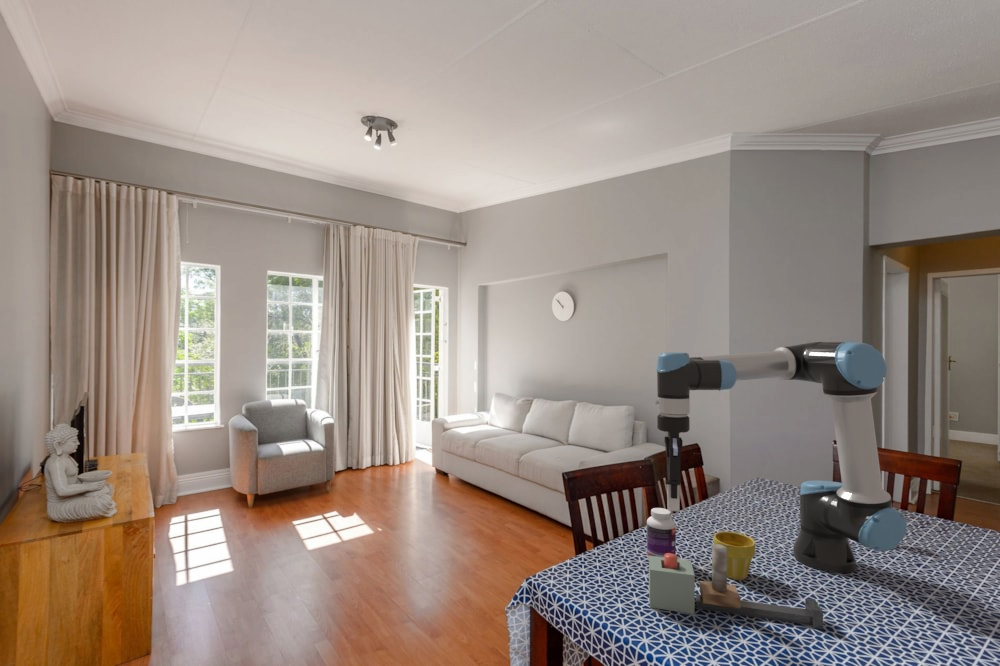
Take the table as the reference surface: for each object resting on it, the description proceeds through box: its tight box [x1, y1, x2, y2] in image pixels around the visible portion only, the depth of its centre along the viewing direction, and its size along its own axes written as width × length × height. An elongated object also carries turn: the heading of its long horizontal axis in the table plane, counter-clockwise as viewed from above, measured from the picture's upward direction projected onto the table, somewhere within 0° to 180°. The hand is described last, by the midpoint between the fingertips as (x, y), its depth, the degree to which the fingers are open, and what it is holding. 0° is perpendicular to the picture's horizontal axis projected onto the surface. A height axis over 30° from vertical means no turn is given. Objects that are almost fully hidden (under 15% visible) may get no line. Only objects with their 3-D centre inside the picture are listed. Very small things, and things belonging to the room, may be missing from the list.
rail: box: [695, 593, 824, 630], centre depth 114 cm, size 26×5×4 cm, turn 75°
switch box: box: [648, 556, 696, 615], centre depth 119 cm, size 10×8×9 cm
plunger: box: [664, 553, 678, 570], centre depth 119 cm, size 3×3×4 cm
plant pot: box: [713, 530, 756, 581], centre depth 133 cm, size 10×10×10 cm
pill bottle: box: [646, 507, 677, 560], centre depth 141 cm, size 8×8×14 cm
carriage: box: [699, 544, 741, 608], centre depth 116 cm, size 8×6×12 cm
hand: (673, 509), depth 120 cm, fingers closed
